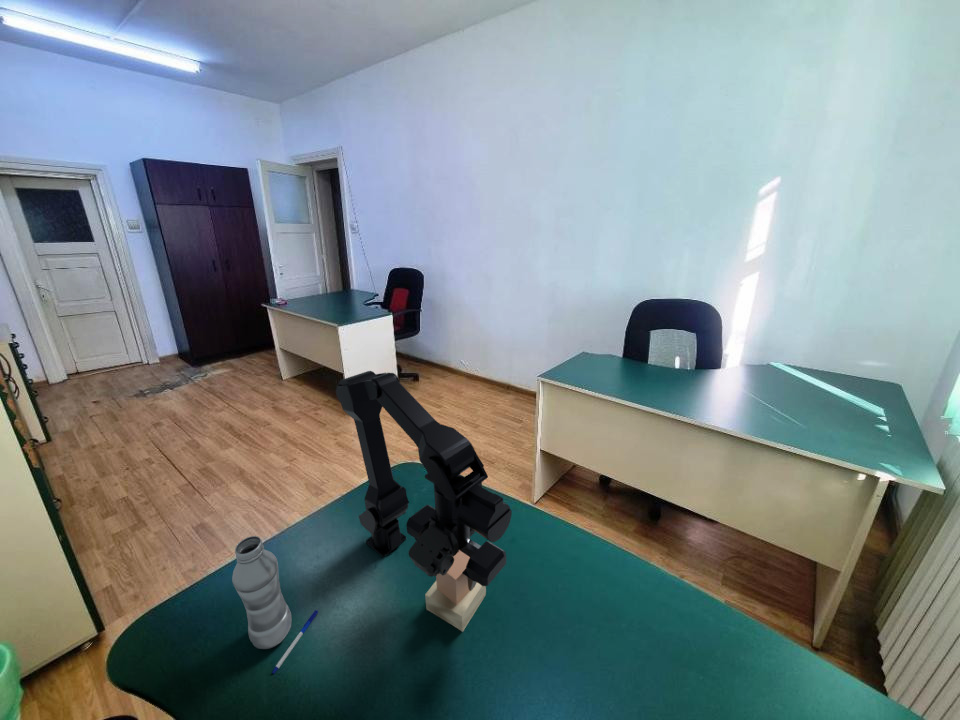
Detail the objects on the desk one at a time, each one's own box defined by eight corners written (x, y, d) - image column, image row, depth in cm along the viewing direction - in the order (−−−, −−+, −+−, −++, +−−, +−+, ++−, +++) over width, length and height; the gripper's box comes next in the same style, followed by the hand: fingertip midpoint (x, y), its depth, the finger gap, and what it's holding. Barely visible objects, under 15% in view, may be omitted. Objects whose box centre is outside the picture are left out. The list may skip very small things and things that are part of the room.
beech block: (426, 610, 69) (425, 594, 67) (451, 577, 75) (450, 562, 74) (462, 632, 65) (462, 616, 63) (485, 595, 71) (485, 580, 70)
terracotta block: (436, 588, 68) (435, 563, 66) (455, 570, 72) (454, 546, 70) (456, 605, 65) (455, 579, 63) (475, 585, 69) (474, 560, 67)
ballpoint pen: (314, 611, 68) (313, 607, 68) (319, 612, 68) (318, 608, 68) (271, 674, 59) (270, 670, 59) (276, 676, 59) (275, 671, 58)
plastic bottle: (251, 663, 60) (220, 570, 53) (253, 626, 66) (226, 537, 59) (294, 643, 63) (271, 552, 56) (293, 609, 69) (271, 523, 62)
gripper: (378, 510, 62) (387, 580, 67) (463, 570, 51) (465, 647, 56) (426, 476, 70) (431, 541, 75) (508, 522, 59) (507, 593, 64)
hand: (455, 576), depth 68 cm, fingers open, 7 cm apart
